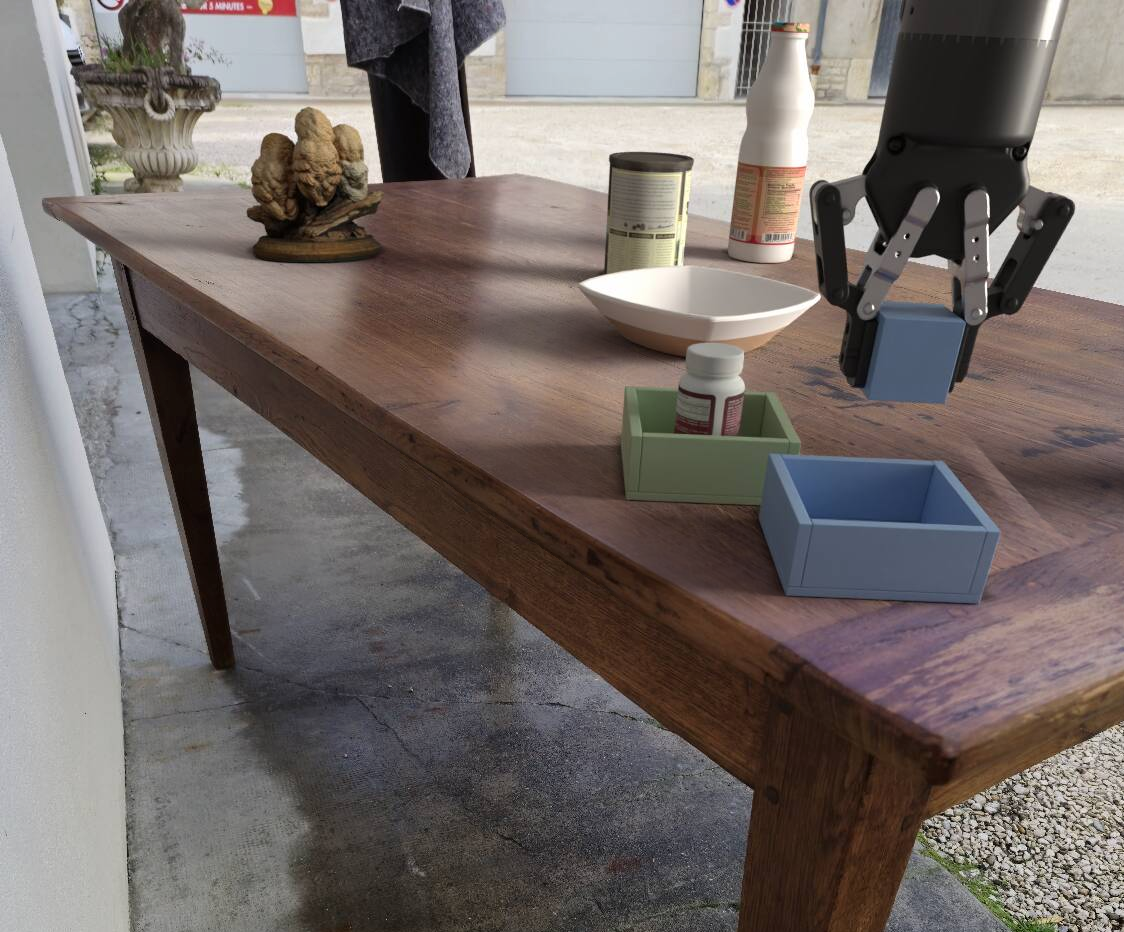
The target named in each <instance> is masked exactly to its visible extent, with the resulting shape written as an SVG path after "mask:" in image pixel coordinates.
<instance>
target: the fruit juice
mask: <svg viewBox="0 0 1124 932" xmlns="http://www.w3.org/2000/svg"><path fill="white" fill-rule="evenodd" d="M809 34H810V23H807V22H786V21H773V22H772V23H771V27H770V38H771V44H770V46H769V49H768V51H767V54H766V56H765V58H764V61H763V64H762V66H761V68H760V71H759V72H758V75H757V76H756V79H755V80H754V81H753V83H752V85H751V87H750V88H749V90H748V92H747V95H746V100H745V101H746V102H745V114H746V115H745V117H746V128H745V131H744V132H743V135H742V137H741V140H740V145H739V150H738V157H737V168H736V175H735V183H734V191H733V199H732V200H733V201H732V210H731V218H730V225H729V226H730V227H729V233H728V234H729V235H728V243H727V254H728V256H729V257H730V258H732V259H735V260H738V261H743V262H749V263H758V264H780V263H785V262H789V261H791V259H792V257H793V254H794V250H795V244H796V235H797V229H798V223H799V217H800V212H801V211H800V210H801V204H802V197H803V190H804V185H805V177H806V171H807V165H808V158H809V148H810V147H809V143H810V142H809V136H808V127H809V123H810V121H811V119H812V116H813V113H814V110H815V103H816V102H815V101H816V97H815V96H816V95H815V91H814V89H813V86H812V83H811V79H810V74H809V68H808V60H807V52H806V41H807V39H808V38H809Z"/></svg>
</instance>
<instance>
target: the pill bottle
mask: <svg viewBox="0 0 1124 932" xmlns="http://www.w3.org/2000/svg"><path fill="white" fill-rule="evenodd" d="M744 361H745V353H744V351H743V350H742V349H741V348H739V347H737V346H734V345H729V344H723V343H698V344H693V345H691V346H689V347H688V348H687V355H686V357H685V370H686V371H687V372H684V373H683V374H682V375H681V377H680V379H679V380H678V387H677V388H678V396H677V406H676V417H675V427H674V434H690V435H714V436H737V437H738V435H739V429H740V421H741V413H742V405H743V398H744V392H745V391H746V387H745V381H744V380H743V378H742V377H741V376H740V375H741V374H742V372H743V369H744Z"/></svg>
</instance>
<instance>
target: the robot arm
mask: <svg viewBox="0 0 1124 932" xmlns="http://www.w3.org/2000/svg"><path fill="white" fill-rule="evenodd" d="M1069 3H1070V0H901V4H900V8H899V13H898V15H899V16H898V19H899V27H898V32H897V36H896V37H897V38H896V43H895V48H894V54H893V59H892V64H891V69H890V74H889V80H888V85H887V91H886V96H885V101H884V102H885V103H884V106H883V111H882V112H883V113H882V117H881V123H880V127H879V133H878V138H877V139H878V140H877V144H876V147H875V150H874V151H873V154H872V156H871V157H870V159H869V161H868V162H867V163H866V165H865V166H864V168H863V170H862V173H861V174H858V175H855V176H851V177H847V178H845V179H840V180H836V181H833V182H829V181H827V180H825V179H819V180H817V181H815V182H814V183H813V184H812V185H811V187H810V188H809V192H808V194H809V206H810V216H811V226H812V235H813V245H814V255H815V265H816V266H815V267H816V275H817V286H818V290H819V294H820V295H822V297H823V298H824V299H825V300H826V301H827V302H828V303H829V304H830V305H831V306H833V307H838V308H840V309H842V310H844V311H845V313H846V320H845V324H844V331H843V336H842V341H841V346H840V351H839V356H838V366H839V370H840V372H841V373H842V375H843V377H845V379H846V382H847V383H848V385H849V386H850V387H851V388H852V389H860V388H864V387H865V385H866V381H867V376H868V371H869V367H870V362H871V357H872V352H873V347H874V343H875V338H876V333H877V328H878V323H879V322H878V321H877V320H876V319H875V316H876V315H877V314H878V312H879V310H880V308H881V306H882V304H883V302H884V301H886V298H887V296H888V294H889V292H890V290H891V288H892V286H893V284H894V283H895V281H897V280H898V279H899V278H900V277H901V275H902V273H903V271H904V268H905V267H906V265H907V263H908V261H909V259H920V258H925V257H930V256H937V257H939V258H942V259H945V260H947V262H946V263H947V269H948V273H949V277H950V290H951V291H950V292H951V294H950V295H951V308H952V312H953V313H955V314H956V315H957V316H958V317H960V318H961V319H962V320H963V321H965V322H966V324H965V328H964V332H963V336H962V340H961V343H960V347H959V351H958V355H957V359H956V363H955V367H954V371H953V375H952V379H951V383H950V387H949V391H948V394H951V393H952V392H953V391H954V389H955V384H956V383H958V384H959V383H960V384H961V383H962V382H963V381H964V379H965V378H966V377H967V375H968V372H969V368H970V363H971V360H972V357H973V353H974V349H975V346H976V342H977V337H978V335H979V330H980V328H981V326H982V325H983V323H985V322H986V321H987V320H989V319H991V318H995V317H998V316H1001V315H1005V316H1012V315H1016V314H1017V313H1018V312H1019V311H1020V310H1021V309H1022V307H1023V305H1024V303H1025V302H1026V300H1027V298H1028V296H1029V295H1030V294H1031V291H1032V290H1033V287H1034V286H1035V284H1036V282H1037V280H1038V278H1040V275H1041V273H1042V271H1043V270H1044V268H1045V266H1046V264H1047V263H1048V261H1049V259H1050V258H1051V255H1052V254H1053V252H1054V250H1055V249H1056V247H1057V246H1058V243H1059V242H1060V240H1061V238H1062V236H1063V234H1064V233H1065V231H1066V229H1067V227H1068V226H1069V224H1070V222H1071V221H1072V219H1073V216H1074V214H1075V212H1076V205H1075V202H1074V201H1073V200H1072V199H1070V198H1068V197H1066V196H1065V195H1063V194H1060V193H1055V192H1052V191H1045V190H1042V189H1040V188H1038V187H1036V186H1033V185H1031V177H1030V173H1029V168H1028V156H1029V151H1030V148H1031V146H1032V144H1033V140H1034V138H1035V134H1036V133H1035V132H1036V129H1037V125H1038V121H1039V118H1040V113H1041V110H1042V107H1043V102H1044V98H1045V95H1046V91H1047V88H1048V85H1049V84H1048V83H1049V80H1050V76H1051V72H1052V68H1053V65H1054V60H1055V56H1056V53H1057V49H1058V46H1059V42H1060V37H1061V34H1062V30H1063V26H1064V22H1065V19H1066V16H1067V15H1066V14H1067V11H1068V7H1069ZM863 198H864V199H865V201H866V203H867V205H868V207H869V210H870V212H871V214H872V216H873V219H874V221H875V223H876V226H877V228H878V229H877V231H876V233H875V235H874V237H873V239H872V241H871V244H870V246H869V247H868V249H867V251H866V254H865V256H864V260H863V265H862V268H861V269H860V272H859V274H858V276H857V278H856V280H855V282H854V283H852V282H850V281H849V272H848V271H849V270H848V262H847V261H848V259H847V249H846V236H845V226H848V225H849V224H851V223H852V221H853V220H854V218H855V217H856V209H857V205H858V203H859V202H860V201H861V199H863ZM1017 207H1018V209H1019V211H1018V215H1017V217H1016V218H1017V219H1016V224H1015V225H1016V228H1017V230H1018V231H1019V232H1018V234H1017V235H1016V238H1015V240H1013V243H1012V245H1011V247H1010V249H1009V250H1008V252H1007V254H1006V256H1005V258H1004V260H1003V261H1002V263H1001V265H1000V267H999V269H998V271H997V273H996V274H995V276H994V277H993V280H992V282H991V284H990V286H989V287H988V284H987V283H988V278H989V277H990V246H989V243H990V242H989V238H990V236H991V235H992V234H993V233H994V232H995V231H996V230H997V229H998V228H999V227H1000V226H1001V225H1002V223H1004V222H1005V220H1006V219H1007V218H1008V217H1009V216H1010V215H1011V214H1012V213H1013V212H1014V211H1015V210H1016V209H1017Z"/></svg>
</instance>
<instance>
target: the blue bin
mask: <svg viewBox="0 0 1124 932" xmlns="http://www.w3.org/2000/svg"><path fill="white" fill-rule="evenodd" d="M759 506H760V508H759V512H758V513H759V514H758V521H759V524H760V526H761V530H762V532H763V535H764V538H765V541H766V543H767V546H768V549H769V552H770V555H771V557H772V561H773V563H774V566H775V569H776V572H777V575H778V577H779V581H780V583H781V587H782V589H783V591H784V594H785V596H786V597H805V598H806V597H808V598H829V599H831V598H832V599H836V598H837V599H858V600H881V601H884V600H885V601H904V602H926V603H927V602H928V603H929V602H930V603H954V604H975V605H976V604H977V605H979V604H980V602H981V601H982V600H981V599H982V596H983V593H984V590H985V587H986V583H987V580H988V577H989V573H990V570H991V567H992V563H993V560H994V556H995V553H996V549H997V547H998V543H999V540H1000V537H1001V533H1002V531H1001V530H1000V529H999V528H998V526H997V525H996V524H995V523H994V522H993V520H992V519H991V518H990V517H989V515H988V514H987V513H986V511H984V509H983V508H982V507H981V506H980V504H979V503H978V502H977V500H976V499H975V498H974V497H973V496H972V494H971V493H970V492H969V491H968V490H967V489H966V487H965V486H964V485H963V484H962V482H961V480H959V478H958V477H957V476H956V475H955V474H954V473H953V471H952V470H951V469H950V468H949V466H948V465H947V463H945V461H943V460H930V459H929V460H928V459H927V460H925V459H905V458H882V457H881V458H879V457H859V456H858V457H856V456H855V457H854V456H833V455H831V456H830V455H812V454H811V455H809V454H808V455H807V454H799V455H789V454H781V455H780V454H769V455H768V462H767V468H766V474H765V481H764V487H763V494H762V500H761V505H759Z"/></svg>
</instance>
